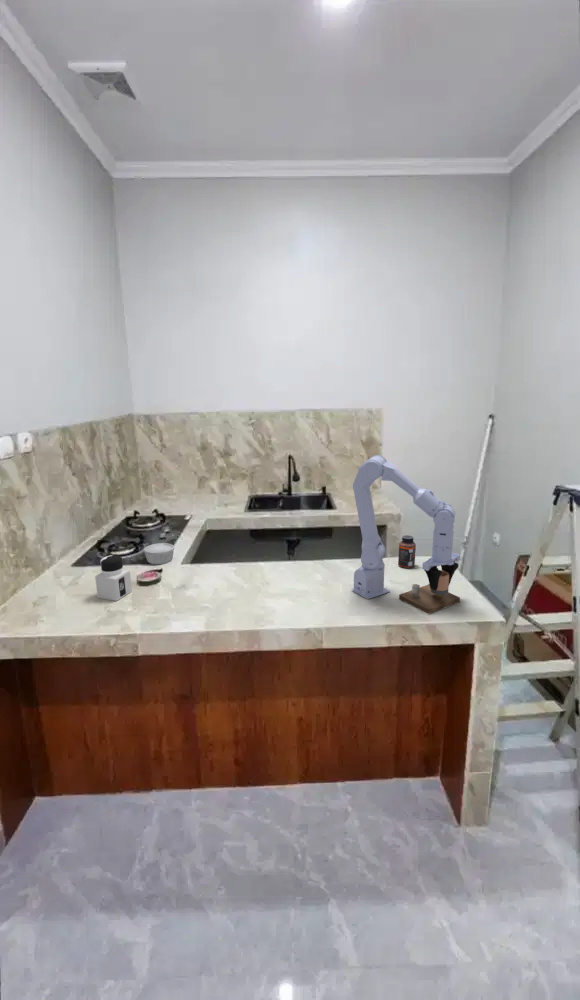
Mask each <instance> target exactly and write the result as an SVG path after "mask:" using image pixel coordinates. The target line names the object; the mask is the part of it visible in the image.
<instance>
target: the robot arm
mask: <svg viewBox="0 0 580 1000" xmlns="http://www.w3.org/2000/svg"><path fill="white" fill-rule="evenodd" d="M380 477H381V478H380ZM379 478H380V481H384V482H388V481H390V482H392V483H394V484H395V485H397V486H398V487H399V488H401V489H402V490H403V491H405V492H406V493H407V494H408V495H410V496H411V497H412V500H413V504H414V505H416V506H417V507H418V508H419V509H420V510H422V511H423V512H424V513H425V514H427V516H428V517H431V518H432V519H433V520H432V521H433V523H434V529H433V532H432V533H433V535H432V536H433V537H432V549H431V552H432V553H431V557H430V558H428V560H426V561H424V562H422V565H421V566H422V567H421V569H422V570H424V572H425V574H426V576H427V580H428V584H430V588H431V589H433V590H437V588H438V581H439V577H440V575H441V573H442V571H441V570H443V571H446V572H448V573H449V585H450V584H451V581H452V579H453V577H454V575H455V572H456V571H457V569H458V568H459V563H457V562H459V561H460V558H461V557H460V556H461V554H459V553H456V552H453V545H454V544H453V543H454V533H455V532H454V528H455V527H454V523H455V522H456V521H455V518H456V511H455V509H454V508H453V506H452V505H451V504H449V503H447V502H446V501H445V500H443V501H442V500H441V499H440V498H439V497H438V496H437V495H435V494H434V493H435V491H434V490H433V489H428V488H420V487H419V486H418V485H417V484H416V483H414V481H413V480H412V479H410V478H409V477H408V476H407V475H406V474H404V473H403V471H401V470H400V469H399V468H398V467H397V466H396V465H395V464H394V463H393V462H391V461H390V460H387V459H386V458H385V457H384V456H382V455H380V454H375V455H373V456H371V457H370V458H369V459H366V460H365V461H364V462H362V464H361V465H360V466H359V467H358V470H357V474H356V475H355V478H354V481H353V483H352V489H353V495H354V499H355V506H356V511H357V517H358V522H359V527H360V531H361V532H360V533H361V539H362V541H361V542H362V543H361V556H360V562H361V565H360V567H359V568H357V569H355V570H354V573H353V588H352V589H351V591H353V592H354V593H356V594H358V595H360V596H361V597H364V598H365V599H366V600H369V599H372V598H376V597H378V596H382V595H384V594H387V593H390V589H387V588H385V587H384V586H385V563H384V560H383V559H384V558H385V556H386V553H387V549H386V547H385V545H384V544H383V542H382V538H381V536H380V535H379V532H378V527H377V521H376V520H377V519H376V514H375V508H374V505H373V504H374V502H373V498H372V491H371V487H372V485H373V484H374V483H375V481H376V480H378V479H379ZM438 567H441V569H439V568H438Z"/></svg>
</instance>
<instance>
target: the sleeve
mask: <svg viewBox="0 0 580 1000" xmlns="http://www.w3.org/2000/svg"><path fill="white" fill-rule="evenodd" d="M440 570H441V571H442V573H441V575H440V577H439V581H438V588H437V590H433V589H431V592H432V593H434V594H436V595H445V594H448V592H449V588H450V584H449V573H448V572H446V571H443V570H442V569H440Z"/></svg>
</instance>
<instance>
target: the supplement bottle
mask: <svg viewBox="0 0 580 1000" xmlns="http://www.w3.org/2000/svg"><path fill="white" fill-rule="evenodd" d="M398 545H399V547H398V558H397V559H398V560H397V562H398V564H397V565H398V566H399V567H400V568H402V569H412V568H414V567H415V564H416V549H417V548H416V547H417V544H416V543H415V542H414V536H413V535H408V534H407V535H402V538H401V541H400V542H399V543H398Z"/></svg>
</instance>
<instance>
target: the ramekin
mask: <svg viewBox="0 0 580 1000" xmlns="http://www.w3.org/2000/svg"><path fill="white" fill-rule="evenodd" d="M174 550H175V546H174V545H173V544H171V543H167V542H159V543H153V544H150V545H147V546H145V547H144V549H143V552H144V556H145V558H146V561H147V562H148V563H149V564H151V565H165V564H167V563H169V562H172V560H173V558H174Z"/></svg>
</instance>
